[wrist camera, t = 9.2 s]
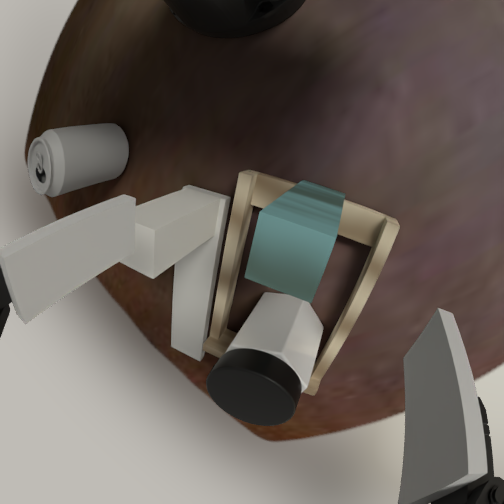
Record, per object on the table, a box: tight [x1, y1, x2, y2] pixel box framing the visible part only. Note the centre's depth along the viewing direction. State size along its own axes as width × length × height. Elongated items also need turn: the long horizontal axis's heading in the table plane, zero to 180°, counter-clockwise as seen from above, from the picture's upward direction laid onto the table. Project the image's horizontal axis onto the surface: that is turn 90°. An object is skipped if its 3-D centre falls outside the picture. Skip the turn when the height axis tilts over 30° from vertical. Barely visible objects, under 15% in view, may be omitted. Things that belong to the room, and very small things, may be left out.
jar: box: [206, 292, 324, 426], centre depth 26 cm, size 9×8×12 cm
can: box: [28, 123, 129, 197], centre depth 26 cm, size 8×8×12 cm
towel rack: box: [203, 169, 400, 396], centre depth 23 cm, size 22×14×12 cm
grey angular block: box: [119, 185, 231, 361], centre depth 29 cm, size 24×5×11 cm, turn 167°
